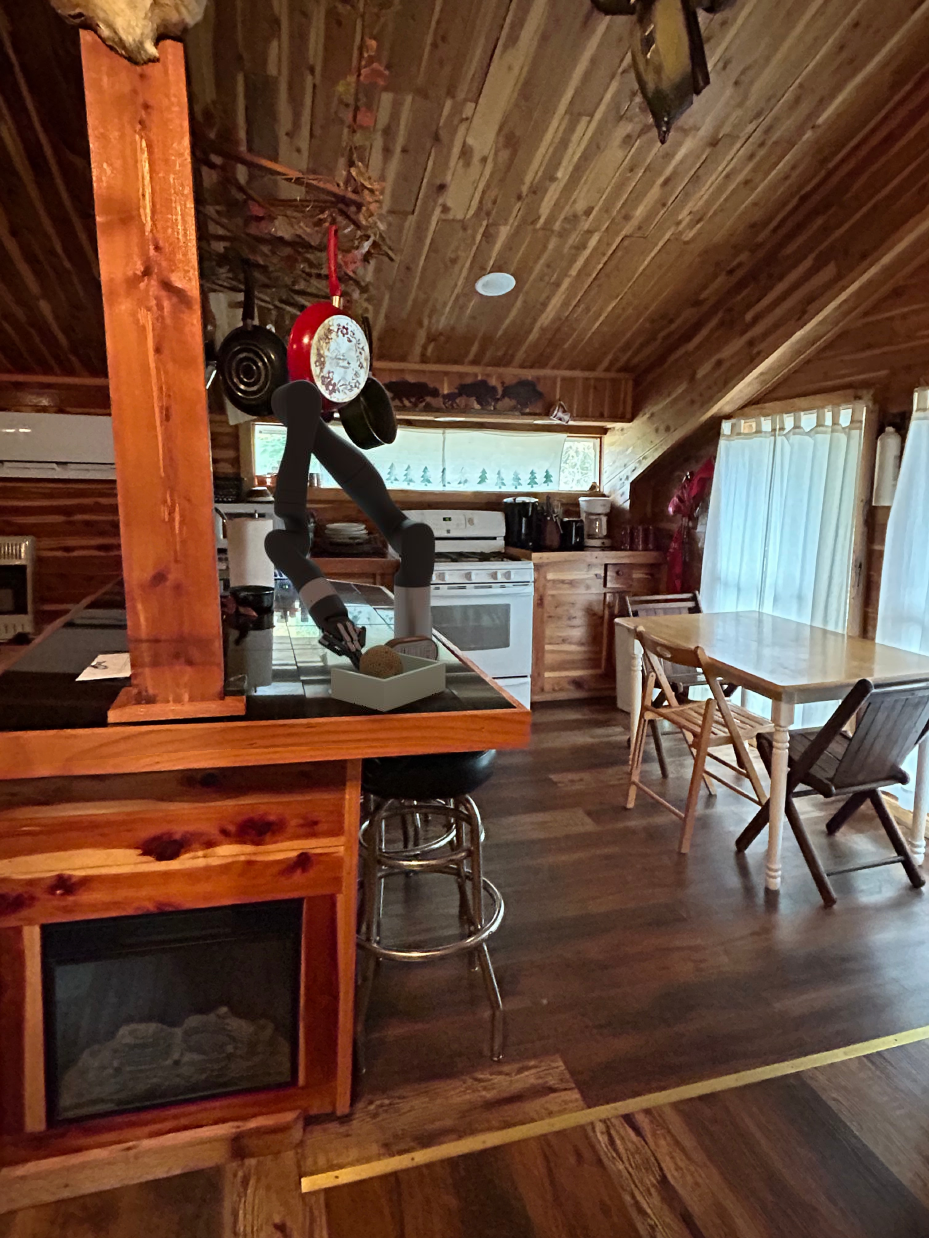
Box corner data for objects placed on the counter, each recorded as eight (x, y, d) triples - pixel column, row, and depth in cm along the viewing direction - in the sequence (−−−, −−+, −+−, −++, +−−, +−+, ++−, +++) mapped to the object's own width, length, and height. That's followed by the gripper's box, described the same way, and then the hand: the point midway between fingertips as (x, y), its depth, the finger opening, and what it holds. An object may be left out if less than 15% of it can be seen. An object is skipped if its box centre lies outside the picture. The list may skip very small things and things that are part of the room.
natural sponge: (380, 683, 164) (380, 638, 162) (411, 691, 159) (412, 644, 157) (350, 692, 156) (350, 645, 154) (382, 700, 151) (383, 652, 149)
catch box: (393, 678, 168) (393, 651, 167) (445, 690, 160) (445, 662, 159) (331, 697, 153) (330, 668, 152) (384, 711, 145) (384, 681, 144)
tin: (432, 667, 178) (432, 632, 177) (440, 670, 176) (440, 634, 174) (377, 676, 169) (377, 639, 168) (385, 679, 167) (385, 642, 165)
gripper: (308, 596, 157) (349, 663, 152) (353, 589, 167) (394, 652, 162) (291, 618, 161) (331, 684, 156) (337, 610, 171) (376, 672, 167)
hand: (363, 668), depth 159 cm, fingers closed
